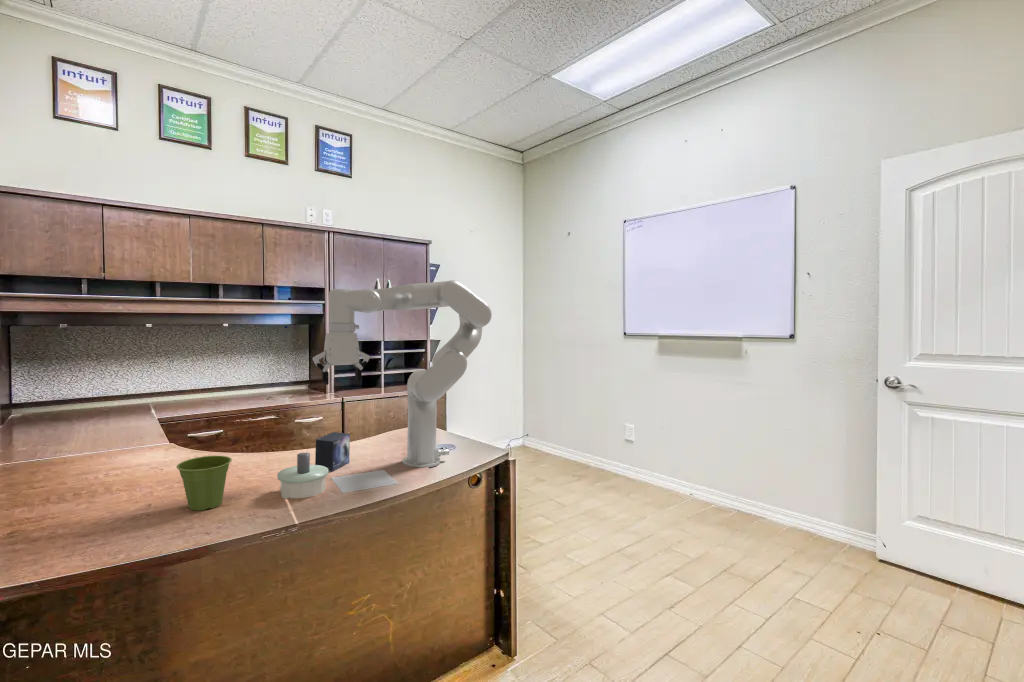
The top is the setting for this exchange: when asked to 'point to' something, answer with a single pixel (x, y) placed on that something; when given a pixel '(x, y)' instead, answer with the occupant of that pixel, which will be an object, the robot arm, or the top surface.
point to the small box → (333, 450)
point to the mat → (363, 481)
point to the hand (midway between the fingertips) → (342, 383)
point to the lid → (302, 471)
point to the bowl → (302, 489)
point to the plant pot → (204, 480)
